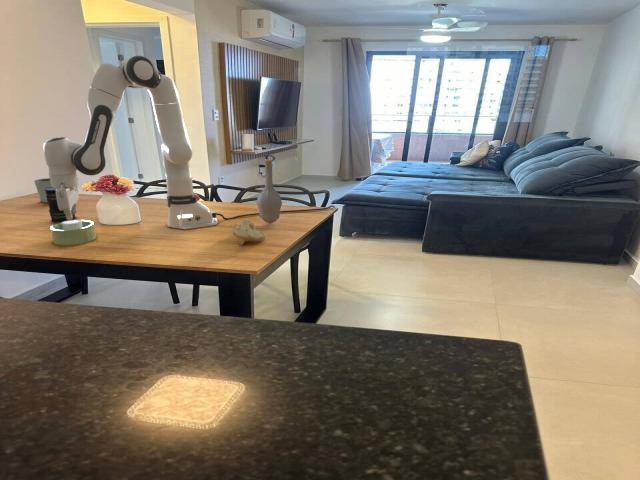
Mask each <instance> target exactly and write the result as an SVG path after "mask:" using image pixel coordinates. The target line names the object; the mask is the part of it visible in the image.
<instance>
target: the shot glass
mask: <svg viewBox="0 0 640 480" xmlns="http://www.w3.org/2000/svg"><path fill="white" fill-rule="evenodd" d="M81 220H82V219H75V220H67V221H64V222H60V223H61V224H62V227H63V230H73V229H80V228H82V221H81Z"/></svg>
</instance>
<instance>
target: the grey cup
mask: <svg viewBox="0 0 640 480" xmlns="http://www.w3.org/2000/svg"><path fill="white" fill-rule="evenodd" d="M33 182H34V185H35V188H36V191H37V194H38V197H39V201H40V202H41V203H46V204H47V203H48V201H47V197H46V191H45V189H46V188H50V187H52V186H51V181H50V177H47V178H38V179H34V180H33Z"/></svg>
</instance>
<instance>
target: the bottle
mask: <svg viewBox="0 0 640 480" xmlns="http://www.w3.org/2000/svg"><path fill="white" fill-rule="evenodd" d="M264 161H265V164H264V173H265V174H264V175H265V176H264V177H265V179H264V181H265V182H264V183H265V184H264V188H263V189H262V190H261V191H260V192H259V194H258V195H257V199H256V205H257V208H258V213H259V214H258V215H259V218H260V219H261V220H262V221H264V222H265V223H267V224H269V225H271V224H273V223H275V222H276V221H277V220H279V219H280V216H281V213H280V211H281V208H282V205H283V201H282V197H281V194H279V192H277V190H276V189H275V188H274V184H273V164H272V162H273V161H272V159H264Z"/></svg>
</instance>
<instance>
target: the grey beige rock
mask: <svg viewBox="0 0 640 480" xmlns="http://www.w3.org/2000/svg"><path fill="white" fill-rule="evenodd" d="M231 235H233V236H234V237H235V238H236V239H237V240H238V244H240V246H243V244H244V243H246V242H252V243H253V242H254V243H257V242H260V241H264V240H265V239H266V238H267V236H266V233H265V232H264V231H262V230H257V229H256V225H255V223H254V222H253V221H252V220H251V219H250V218H245V219H244V220H243V221H242V222H241V223H240V224H239V225H238V222H235V224H234V225H233V227H232V229H231Z"/></svg>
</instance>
